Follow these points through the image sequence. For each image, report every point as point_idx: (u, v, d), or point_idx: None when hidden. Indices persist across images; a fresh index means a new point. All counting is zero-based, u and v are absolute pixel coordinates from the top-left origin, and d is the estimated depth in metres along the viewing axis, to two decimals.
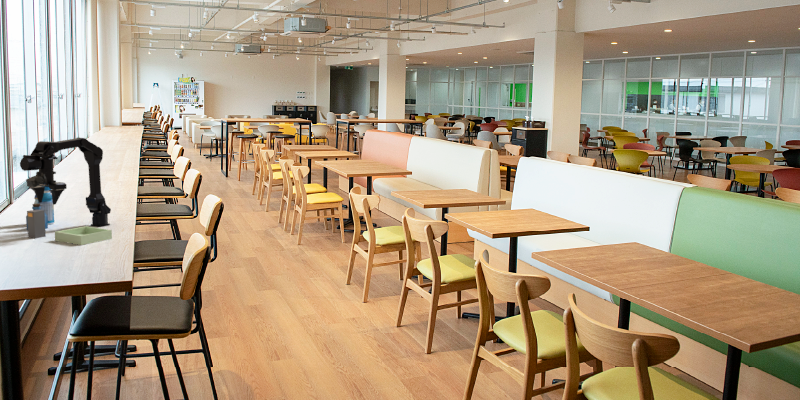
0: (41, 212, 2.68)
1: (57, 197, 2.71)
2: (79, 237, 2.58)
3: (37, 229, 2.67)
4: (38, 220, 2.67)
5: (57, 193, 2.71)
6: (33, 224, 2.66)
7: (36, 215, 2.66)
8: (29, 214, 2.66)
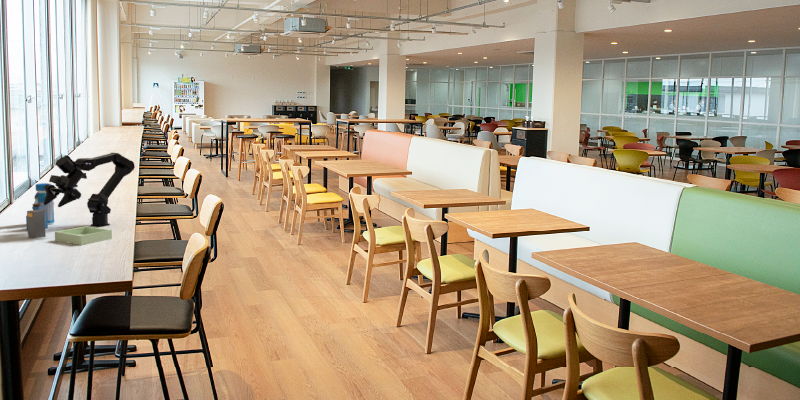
0: (41, 212, 2.68)
1: (65, 202, 2.75)
2: (79, 237, 2.58)
3: (37, 229, 2.67)
4: (38, 220, 2.67)
5: (68, 199, 2.76)
6: (33, 224, 2.66)
7: (36, 215, 2.66)
8: (29, 214, 2.66)
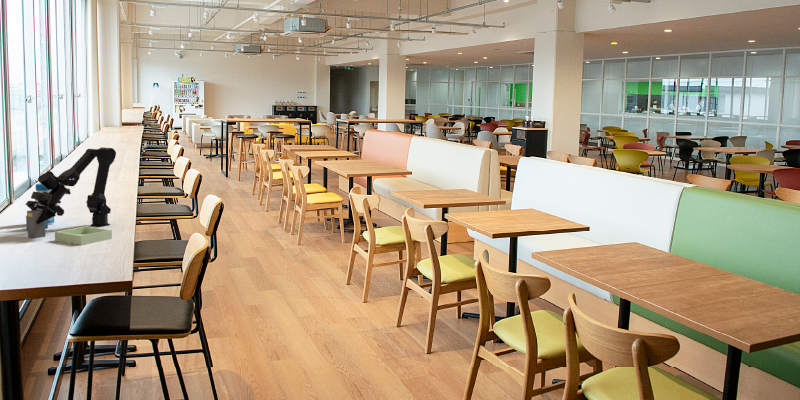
0: (41, 212, 2.68)
1: (44, 219, 2.69)
2: (79, 237, 2.58)
3: (37, 229, 2.67)
4: None
5: (47, 215, 2.69)
6: (33, 224, 2.66)
7: (36, 215, 2.66)
8: (29, 214, 2.66)
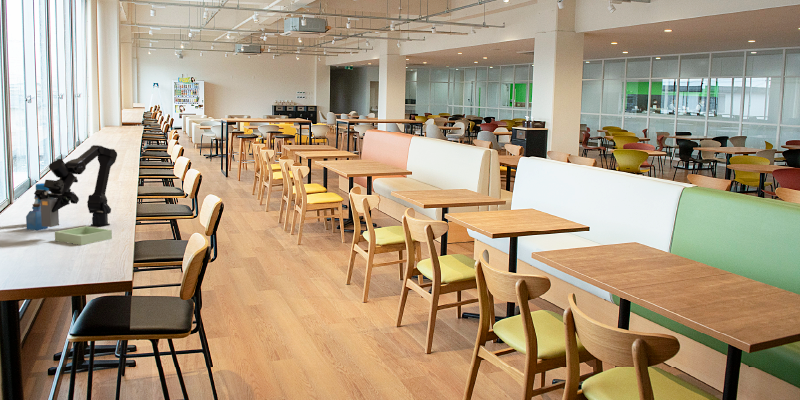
0: (55, 200, 2.66)
1: (59, 207, 2.66)
2: (79, 237, 2.58)
3: (52, 217, 2.65)
4: None
5: (61, 203, 2.67)
6: (48, 212, 2.63)
7: (51, 203, 2.64)
8: (44, 202, 2.63)
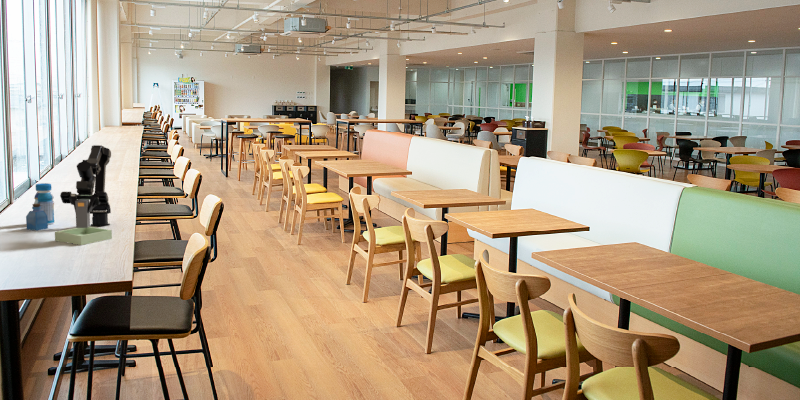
0: (88, 201, 2.67)
1: (92, 207, 2.69)
2: (79, 237, 2.58)
3: (87, 218, 2.66)
4: (87, 209, 2.66)
5: (93, 204, 2.70)
6: (85, 213, 2.65)
7: (87, 204, 2.65)
8: (80, 204, 2.63)
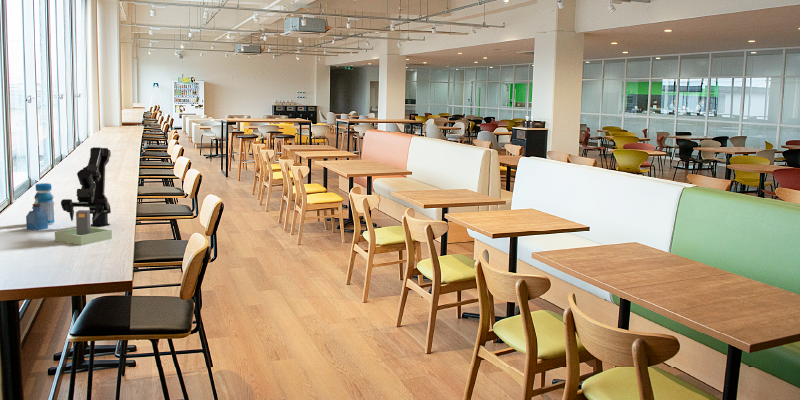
0: (89, 212, 2.68)
1: (97, 215, 2.70)
2: (79, 237, 2.58)
3: (88, 229, 2.67)
4: (88, 220, 2.67)
5: (98, 212, 2.71)
6: (86, 224, 2.65)
7: (87, 215, 2.66)
8: (80, 215, 2.64)
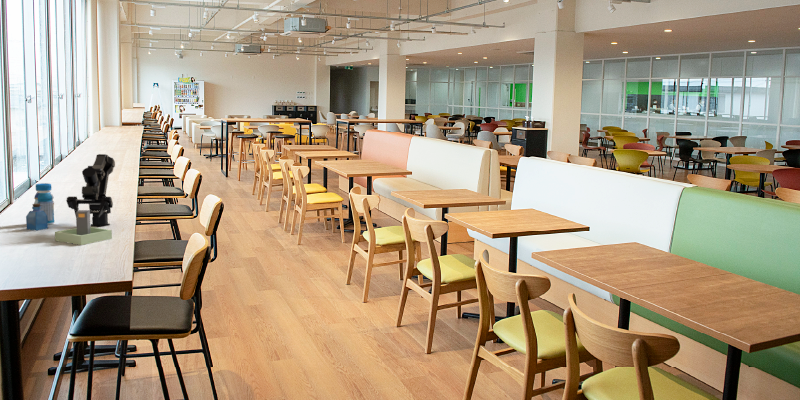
0: (89, 212, 2.68)
1: (102, 212, 2.78)
2: (79, 237, 2.58)
3: (88, 229, 2.67)
4: (88, 220, 2.67)
5: (103, 209, 2.79)
6: (86, 224, 2.65)
7: (87, 215, 2.66)
8: (80, 215, 2.64)
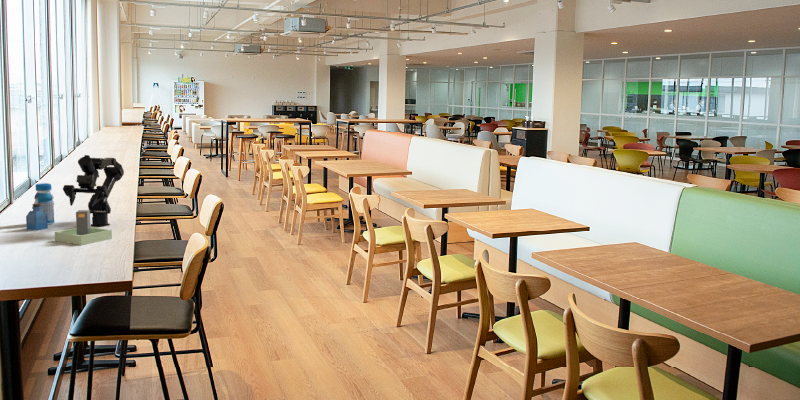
0: (89, 212, 2.68)
1: (96, 201, 2.81)
2: (79, 237, 2.58)
3: (88, 229, 2.67)
4: (88, 220, 2.67)
5: (97, 197, 2.82)
6: (86, 224, 2.65)
7: (87, 215, 2.66)
8: (80, 215, 2.64)
